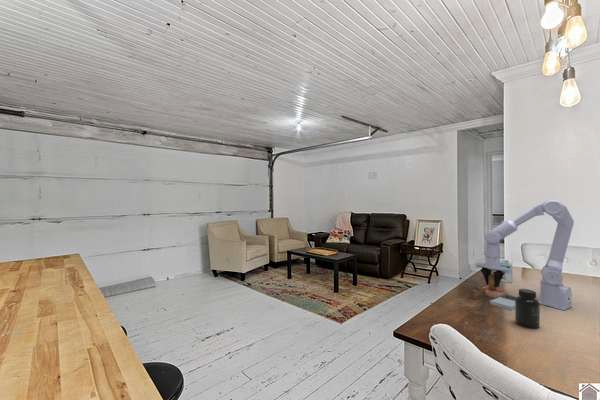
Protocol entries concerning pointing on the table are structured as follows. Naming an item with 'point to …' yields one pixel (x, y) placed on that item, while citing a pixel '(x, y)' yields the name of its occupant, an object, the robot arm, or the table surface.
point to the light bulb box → (508, 264)
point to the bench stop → (477, 293)
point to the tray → (495, 292)
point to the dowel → (491, 283)
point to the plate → (503, 303)
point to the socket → (507, 297)
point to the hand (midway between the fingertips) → (492, 285)
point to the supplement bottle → (527, 309)
